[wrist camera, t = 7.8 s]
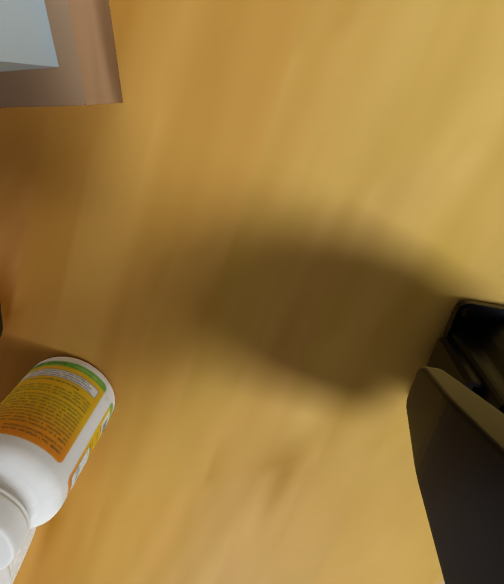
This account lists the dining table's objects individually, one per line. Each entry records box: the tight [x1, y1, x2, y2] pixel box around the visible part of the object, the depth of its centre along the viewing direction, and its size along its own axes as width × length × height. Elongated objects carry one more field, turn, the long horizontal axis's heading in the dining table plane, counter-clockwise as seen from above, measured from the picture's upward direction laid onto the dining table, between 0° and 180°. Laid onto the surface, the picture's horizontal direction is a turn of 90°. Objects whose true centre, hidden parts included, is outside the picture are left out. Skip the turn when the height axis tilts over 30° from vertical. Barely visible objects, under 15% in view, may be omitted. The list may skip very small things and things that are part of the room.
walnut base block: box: [0, 0, 123, 108], centre depth 16 cm, size 6×6×4 cm
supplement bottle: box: [0, 357, 115, 570], centre depth 22 cm, size 5×5×10 cm
